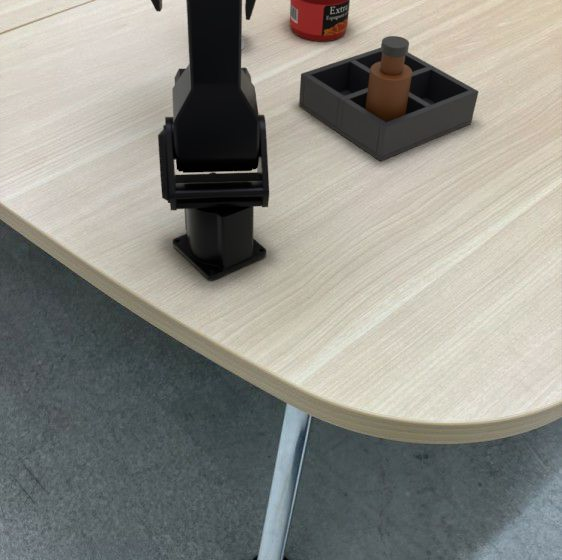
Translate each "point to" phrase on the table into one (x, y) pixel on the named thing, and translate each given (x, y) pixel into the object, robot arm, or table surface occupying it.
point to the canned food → (319, 18)
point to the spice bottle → (389, 81)
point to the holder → (372, 130)
